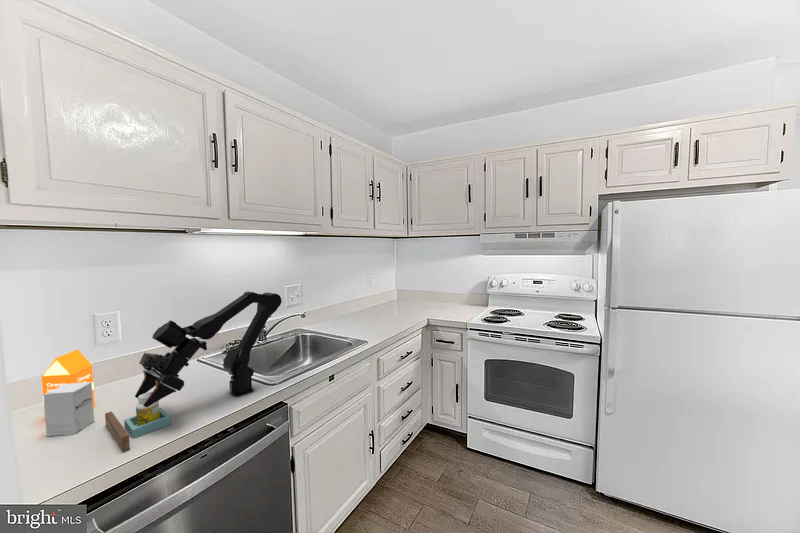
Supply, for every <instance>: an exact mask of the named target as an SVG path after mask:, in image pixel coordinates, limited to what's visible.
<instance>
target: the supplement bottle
mask: <svg viewBox="0 0 800 533" xmlns="http://www.w3.org/2000/svg"><path fill="white" fill-rule="evenodd" d="M152 392H153V391H148V392H146V393H144V394H141V395H140V396H139V397H138V398H137V401H138V403H136V406H135V414H136V415H135V416H137V425H136V427H138V426H141V425H144V424H146V423H149V422H152V421H155V420H158V419H160V415H159V408H160V402H159V401H160V400H159V401H157V402H155V403H153V404H152V405H150V406H148V407H145V406H143V405H144V404H145V402H146V400H147V399H148V398H149V396H150V395H151V393H152Z"/></svg>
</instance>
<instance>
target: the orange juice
mask: <svg viewBox="0 0 800 533" xmlns="http://www.w3.org/2000/svg"><path fill="white" fill-rule="evenodd" d="M93 374H94V373H93V364H92V363H91V362H90V361H89V360H88V359H87V358H86V357H85V355H83V353H82V352H81V351H80V350H79V349H75V350H72V351H70V352H67V353H65V354H63V355H59V356H57V357H55V358H54V359H53V360H52V362H51V364H50V365H49V366H48V368H47V369H46V371H45V372H44V373H43V375H41V384H42V386H41V387H42V402H43V404H44V394H46V393H48V392H50V391H52V390H54V389H56V388H58V387H60V386H62V385H64V384H71V383H83V382H92V396H93V408H94V407H95V406H96V402H95V385H94V376H93ZM43 411H44V413H45V408H44V407H43Z"/></svg>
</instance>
